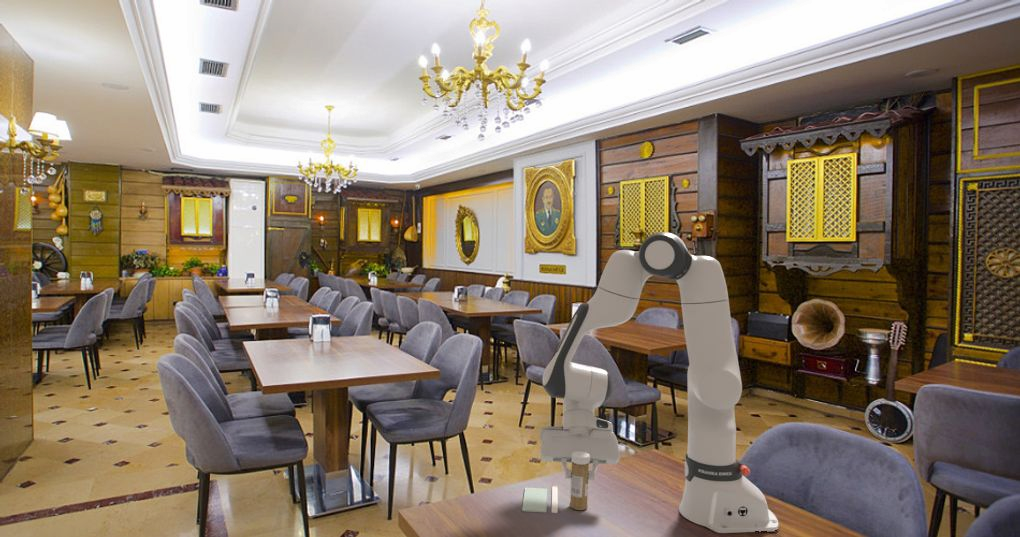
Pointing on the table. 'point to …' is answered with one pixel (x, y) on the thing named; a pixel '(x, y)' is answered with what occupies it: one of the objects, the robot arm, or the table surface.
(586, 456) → the sprinkles bottle
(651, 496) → the table surface
